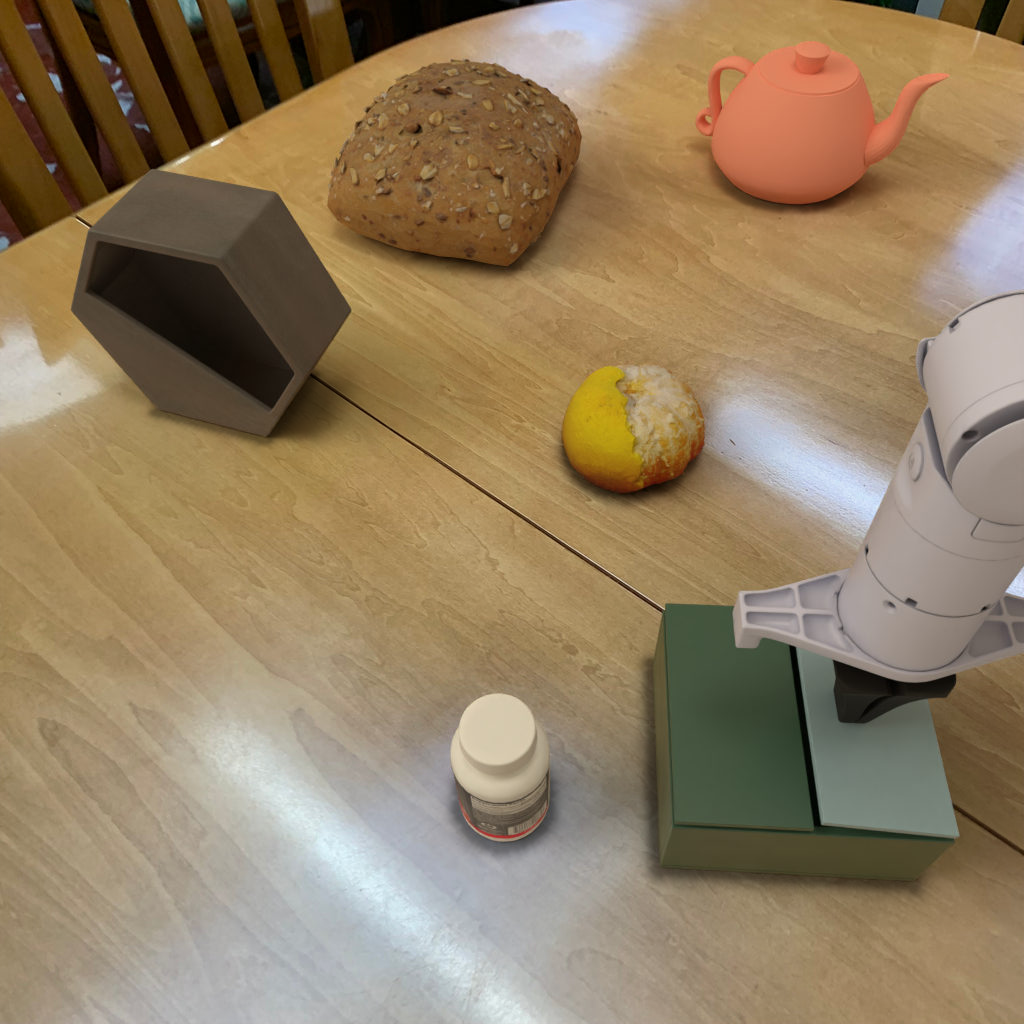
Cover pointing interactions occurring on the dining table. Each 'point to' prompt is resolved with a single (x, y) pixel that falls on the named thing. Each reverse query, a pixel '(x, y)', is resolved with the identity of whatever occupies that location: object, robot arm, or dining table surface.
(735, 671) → the seed box
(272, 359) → the planter
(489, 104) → the bread
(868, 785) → the hatch
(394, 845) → the dining table surface
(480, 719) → the pill bottle
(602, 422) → the fruit
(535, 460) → the dining table surface
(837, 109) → the teapot
